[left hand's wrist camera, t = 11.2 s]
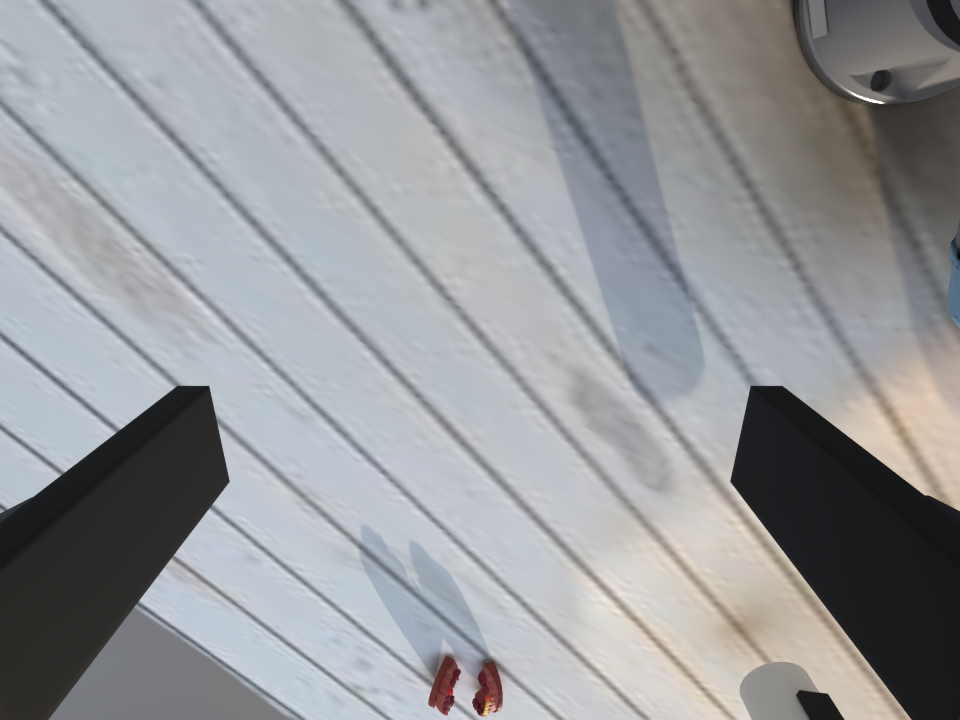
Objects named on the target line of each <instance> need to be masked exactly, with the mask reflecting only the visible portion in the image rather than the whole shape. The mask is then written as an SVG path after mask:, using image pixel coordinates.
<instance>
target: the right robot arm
mask: <svg viewBox="0 0 960 720" xmlns="http://www.w3.org/2000/svg"><path fill="white" fill-rule="evenodd" d="M796 697H797V698H798V700H799V702H800V704H801V705H802V707H803V709H804V710H805V712H806V714H807V716H808V717H809V719H810V720H844V718H843V717H842V715H841V714H840V712H839V711H838V709H837V707H836V706H835V704H834V703H833V701H832V700H831V698H830V697H829V695H828V694H825V693H818V692H812V691H805V690H799V691H798V693H797V694H796Z"/></svg>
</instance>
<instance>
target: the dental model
mask: <svg viewBox="0 0 960 720" xmlns="http://www.w3.org/2000/svg"><path fill="white" fill-rule="evenodd" d="M460 673H461V670H460V669H458V667H457V664H456V663H455V661H454V659H452V658H450V657H448V656H446V657H445V659H444V661H443V663H442V665H441V667H440V670H439V672H438V674H437V677H436V679H435V682H434V684H433V687H432V690H431V693H430V697H429V702H428V704H429V706H431V707H433V708H434V707H435V705H436V706H437V708H438V710H439V711H440V712H441V713H443V714H444V715H448V712H449V710H450V707H452V706H453V704H454V698H455V697H454V696H452V695H453V689H452V688H454V686H455V684H456V680H457V681H458V680H459V678H458V677H459V674H460ZM478 680H479V683H480V685H481V686H483V687H482V688H481V689H480V690H479V691H478V692H477V693H476V694H475V698H474V699H473V701H472V704H473V707H474V709H475V710H477V713H478V715H480V716H486V715H487V714H489V713H491V712H494V713H495V712H498V711H499V710H501V708H502V703H503V693H502V686H501V681H500V677H499V674H498V671H497V668H496V666H495V663H494V662H491V663H487V664H486V665H484V667H483V669H482V670H481V672H480V673H479V676H478Z"/></svg>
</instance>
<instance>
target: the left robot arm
mask: <svg viewBox="0 0 960 720" xmlns="http://www.w3.org/2000/svg"><path fill="white" fill-rule="evenodd" d="M795 24H796V31H797V36H798V40H799V44H800V47H801V50H802V52H803V55H804V57H805V60H806V61H807V63H808V65H809V67H810V69H811V70H812V71H813V73H814V74H815V76H816V77H817V78H818V79H819V80H820V81H821V82H822V83H823V84H824V85H825V86H826V87H827V88H828V89H830V90H831V91H832V92H834V93H836V94H837V95H839V96H841V97H843V98H845V99H847V100H850V101H853V102H856V103H860V104H865V105H875V106H883V105H895V104H903V103H910V102H916V101H920V100H924V99H927V98H930V97H933V96H936V95H939V94H942V93H944V92H947V91H949V90H952V89H954V88H956V87H958V86H960V0H795ZM950 257H951V261H952V262H953V264H952V271H951V278H950V285H949V292H948V302H947V303H948V310H949V313H950V316H951V318H952V320H953V321H954V322H955V323H956V324H957V326H958V327H959V328H960V222H959V226H958V231H957V235H956V237H955V238H954V240H953V241H952V242H951V246H950ZM229 482H230V481H229V476H228V472H227V467H226V462H225V458H224V453H223V448H222V444H221V439H220V434H219V430H218V425H217V420H216V416H215V411H214V406H213V402H212V397H211V392H210V388H209V386H177V387H176V388H174V389H173V390H172V391H170V392H169V393H168V394H167V395H165V396H164V397H163V398H161V399H160V400H159V401H157V402H156V403H155V404H154V405H152V406H151V407H150V408H148V409H147V410H146V411H144V412H143V413H142V414H141V415H139V416H138V417H137V418H135V419H134V420H133V421H131V422H130V423H129V424H128V425H126V426H125V427H124V428H122V429H121V430H120V431H118V432H117V433H116V434H115V435H113V436H112V437H111V438H109V439H108V440H107V441H105V442H104V443H103V444H102V445H100V446H99V447H98V448H96V449H95V450H94V451H92V452H91V453H90V454H89V455H87V456H86V457H85V458H83V459H82V460H81V461H80V462H78V463H77V464H76V465H74V466H73V467H72V468H70V469H69V470H68V471H67V472H65V473H64V474H63V475H61V476H60V477H59V478H57V479H56V480H55V481H54V482H52V483H51V484H50V485H48V486H47V487H46V488H44V489H43V490H42V491H41V492H39V493H38V494H37V495H35V496H34V497H32V498H30V499H28V500H26V501H24V502H22V503H20V504H18V505H16V506H14V507H12V508H10V509H8V510H6V511H4V512H2V513H0V720H48V719H49V718H50V717H51V715H52V714H53V713H54V712H55V710H56V709H57V708H58V706H59V705H60V704H61V702H62V701H63V700H64V698H65V697H66V696H67V694H68V693H69V692H70V690H71V689H72V688H73V687H74V685H75V684H76V683H77V681H78V680H79V679H80V677H81V676H82V675H83V673H84V672H85V671H86V669H87V668H88V667H89V666H90V664H91V663H92V662H93V660H94V659H95V658H96V656H97V655H98V654H99V652H100V651H101V650H102V649H103V647H104V646H105V645H106V643H107V642H108V641H109V639H110V638H111V637H112V635H113V634H114V633H115V631H116V630H117V629H118V627H119V626H120V625H121V624H122V622H123V621H124V620H125V618H126V617H127V616H128V614H129V613H130V612H131V610H132V609H133V608H134V607H135V605H136V604H137V603H138V601H139V600H140V599H141V597H142V596H143V595H144V593H145V592H146V591H147V589H148V588H149V587H150V586H151V584H152V583H153V582H154V580H155V579H156V578H157V576H158V575H159V574H160V572H161V571H162V570H163V568H164V567H165V566H166V565H167V563H168V562H169V561H170V559H171V558H172V557H173V555H174V554H175V553H176V551H177V550H178V549H179V547H180V546H181V545H182V544H183V542H184V541H185V540H186V538H187V537H188V536H189V534H190V533H191V532H192V530H193V529H194V528H195V527H196V525H197V524H198V523H199V521H200V520H201V519H202V517H203V516H204V515H205V513H206V512H207V511H208V509H209V508H210V507H211V506H212V504H213V503H214V502H215V500H216V499H217V498H218V496H219V495H220V494H221V492H222V491H223V490H224V488H225V487H226V486H227V485H228V483H229ZM730 482H731V483H732V485H733V486H734V487H735V488H736V490H737V491H738V492H739V494H740V495H741V496H742V498H743V499H744V500H745V502H746V503H747V504H748V506H749V507H750V508H751V509H752V511H753V512H754V513H755V515H756V516H757V517H758V519H759V520H760V521H761V523H762V524H763V525H764V527H765V528H766V529H767V530H768V532H769V533H770V534H771V536H772V537H773V538H774V540H775V541H776V542H777V544H778V545H779V546H780V547H781V549H782V550H783V551H784V553H785V554H786V555H787V557H788V558H789V559H790V561H791V562H792V563H793V565H794V566H795V567H796V568H797V570H798V571H799V572H800V574H801V575H802V576H803V578H804V579H805V580H806V582H807V583H808V584H809V586H810V587H811V588H812V589H813V591H814V592H815V593H816V595H817V596H818V597H819V599H820V600H821V601H822V603H823V604H824V605H825V607H826V608H827V609H828V610H829V612H830V613H831V614H832V616H833V617H834V618H835V620H836V621H837V622H838V624H839V625H840V626H841V628H842V629H843V630H844V631H845V633H846V634H847V635H848V637H849V638H850V639H851V641H852V642H853V643H854V645H855V646H856V647H857V649H858V650H859V651H860V652H861V654H862V655H863V656H864V658H865V659H866V660H867V662H868V663H869V664H870V666H871V667H872V668H873V670H874V671H875V672H876V673H877V675H878V676H879V677H880V679H881V680H882V681H883V683H884V684H885V685H886V687H887V688H888V689H889V691H890V692H891V693H892V694H893V696H894V697H895V698H896V700H897V701H898V702H899V704H900V705H901V706H902V708H903V709H904V710H905V712H906V713H907V714H908V715H909V717H910V718H911V719H912V720H960V511H958V510H956V509H954V508H952V507H950V506H948V505H946V504H944V503H943V502H941V501H939V500H937V499H935V498H933V497H931V496H925V495H923V494H922V493H921V492H919V491H918V490H917V489H916V488H914V487H913V486H912V485H910V484H909V483H908V482H906V481H905V480H904V479H903V478H901V477H900V476H899V475H897V474H896V473H895V472H893V471H892V470H891V469H890V468H888V467H887V466H886V465H884V464H883V463H882V462H880V461H879V460H878V459H877V458H875V457H874V456H873V455H871V454H870V453H869V452H868V451H866V450H865V449H864V448H862V447H861V446H860V445H858V444H857V443H856V442H855V441H853V440H852V439H851V438H849V437H848V436H847V435H845V434H844V433H843V432H842V431H840V430H839V429H838V428H836V427H835V426H834V425H832V424H831V423H830V422H829V421H827V420H826V419H825V418H823V417H822V416H821V415H819V414H818V413H817V412H816V411H814V410H813V409H812V408H810V407H809V406H808V405H806V404H805V403H804V402H803V401H801V400H800V399H799V398H797V397H796V396H795V395H793V394H792V393H791V392H790V391H788V390H787V389H786V388H784V387H783V386H751V388H750V392H749V397H748V402H747V406H746V411H745V416H744V420H743V425H742V430H741V434H740V439H739V444H738V448H737V453H736V458H735V462H734V467H733V472H732V476H731V481H730Z"/></svg>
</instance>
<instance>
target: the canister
mask: <svg viewBox="0 0 960 720" xmlns="http://www.w3.org/2000/svg"><path fill="white" fill-rule="evenodd" d="M799 690H805V691H812V692H818V693H819V691H818V690H817V688H816V687H815V685H814V683H813V682H812V680H811V679H810V677H809V675H808V674H807V672H806V671H805V670H804V669H803V668H801V667H800V666H798V665H796V664H793V663H788V662H774V663H769V664H765V665H763V666H760V667H758V668H756V669H754V670H753V671H751V672H750V673H749V674H748V675H747V676H746V677H745V678H744V679H743V681H742V683H741V685H740V695H741V698H742V700H743V702H744V704H745V706H746V708H747V710H748V712H749V715H750V717H751V719H752V720H810V719H809V717H808V716H807V714H806V712H805V710H804V709H803V707H802V705H801V704H800V702H799V700H798V698H797V697H796V694H797V693H798V691H799Z"/></svg>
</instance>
